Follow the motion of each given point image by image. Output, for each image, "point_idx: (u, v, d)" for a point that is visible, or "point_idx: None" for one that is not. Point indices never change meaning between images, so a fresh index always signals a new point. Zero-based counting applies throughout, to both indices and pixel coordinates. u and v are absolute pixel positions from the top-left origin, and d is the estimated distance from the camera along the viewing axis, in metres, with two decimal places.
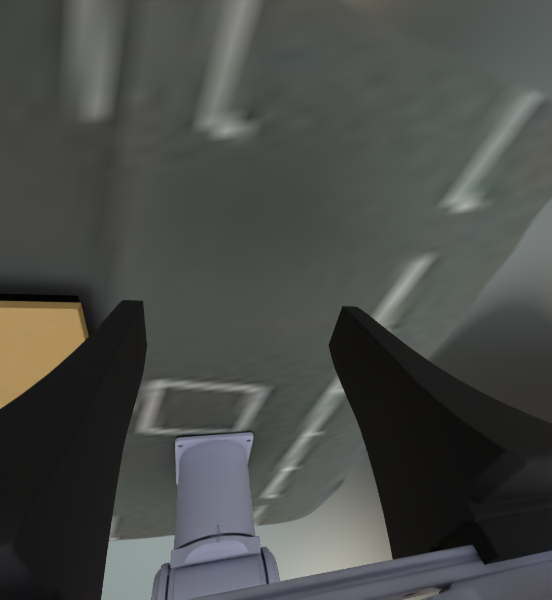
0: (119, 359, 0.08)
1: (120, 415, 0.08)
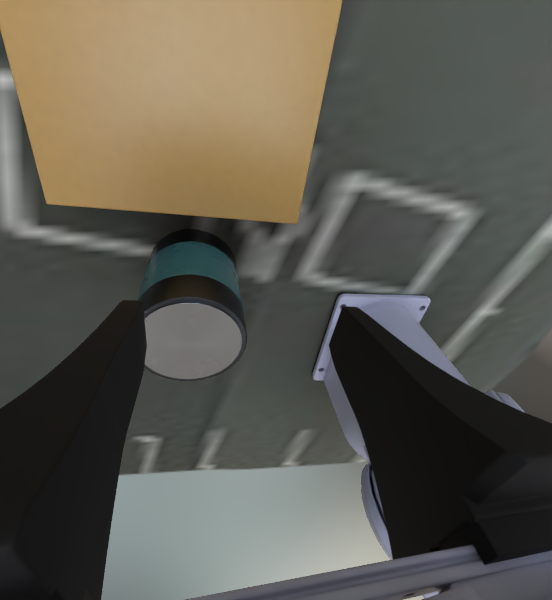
0: (119, 360, 0.08)
1: (120, 415, 0.08)
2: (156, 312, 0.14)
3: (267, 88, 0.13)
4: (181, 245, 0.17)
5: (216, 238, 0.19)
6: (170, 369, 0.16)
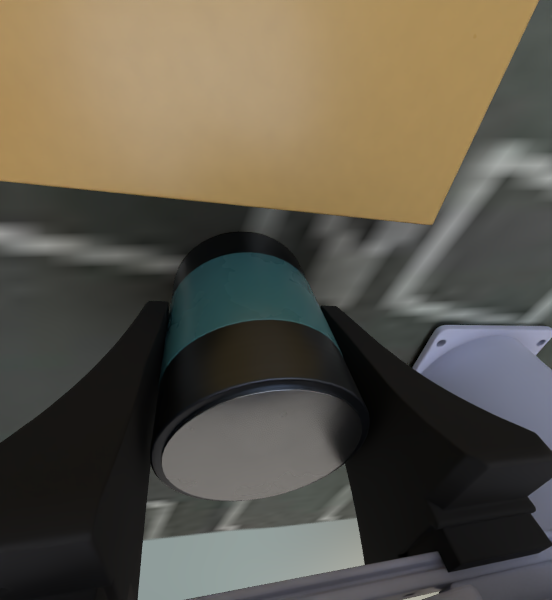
0: (152, 359, 0.08)
1: (151, 413, 0.09)
2: (212, 409, 0.06)
3: None
4: (235, 259, 0.10)
5: (282, 246, 0.12)
6: (222, 490, 0.08)
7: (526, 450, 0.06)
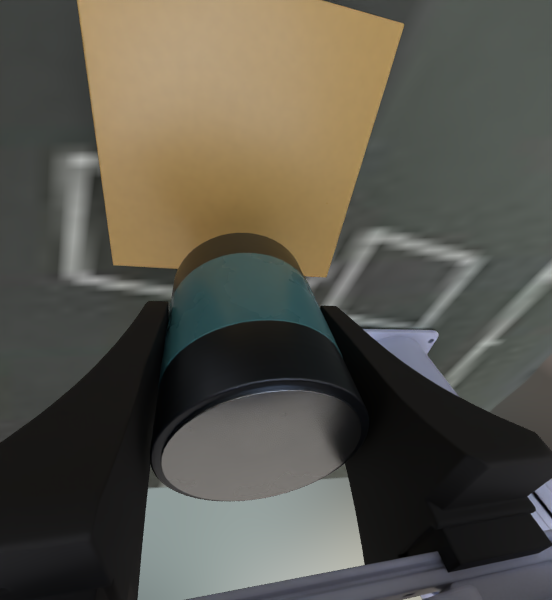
0: (152, 359, 0.08)
1: (151, 413, 0.09)
2: (211, 409, 0.06)
3: (310, 173, 0.15)
4: (234, 260, 0.10)
5: (281, 247, 0.12)
6: (222, 491, 0.08)
7: (525, 451, 0.06)
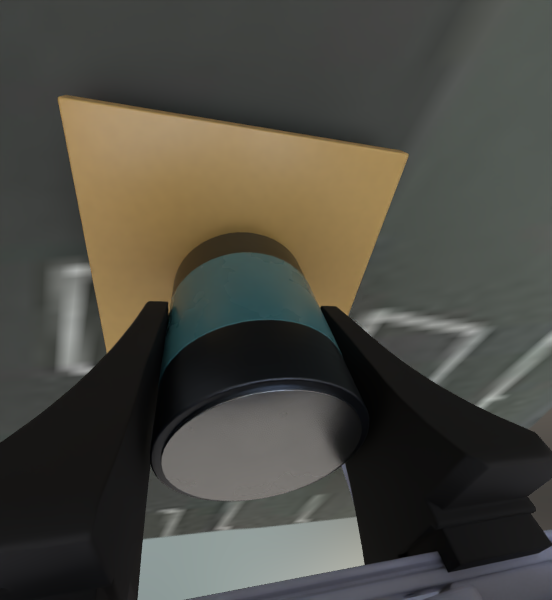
0: (152, 359, 0.08)
1: (151, 413, 0.09)
2: (211, 409, 0.06)
3: (312, 284, 0.15)
4: (234, 260, 0.10)
5: (281, 246, 0.12)
6: (222, 491, 0.08)
7: (525, 451, 0.06)
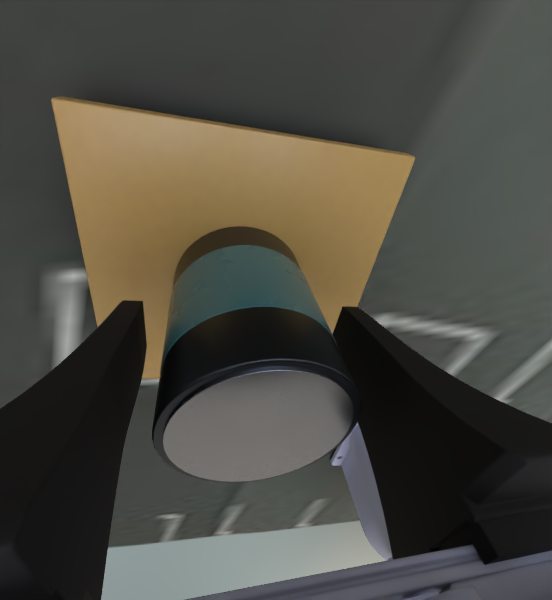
0: (119, 360, 0.08)
1: (120, 415, 0.08)
2: (210, 388, 0.07)
3: (315, 289, 0.15)
4: (233, 252, 0.10)
5: (279, 240, 0.12)
6: (221, 471, 0.09)
7: None
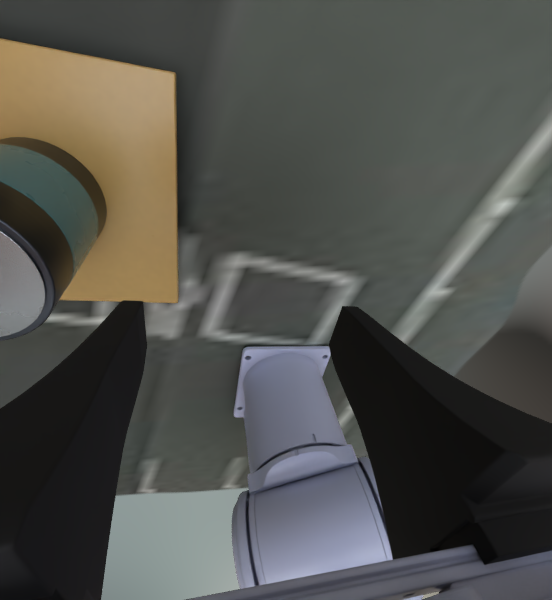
0: (119, 359, 0.08)
1: (120, 415, 0.08)
2: None
3: (125, 209, 0.16)
4: None
5: (62, 152, 0.14)
6: None
7: None
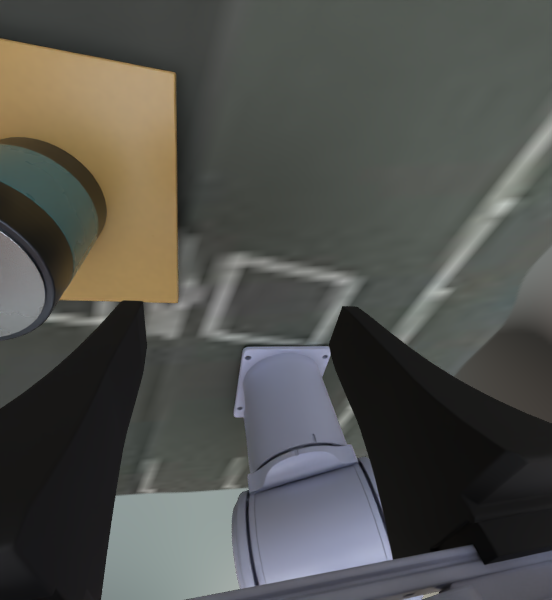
0: (119, 359, 0.08)
1: (120, 415, 0.08)
2: None
3: (125, 209, 0.16)
4: None
5: (62, 152, 0.14)
6: None
7: None
